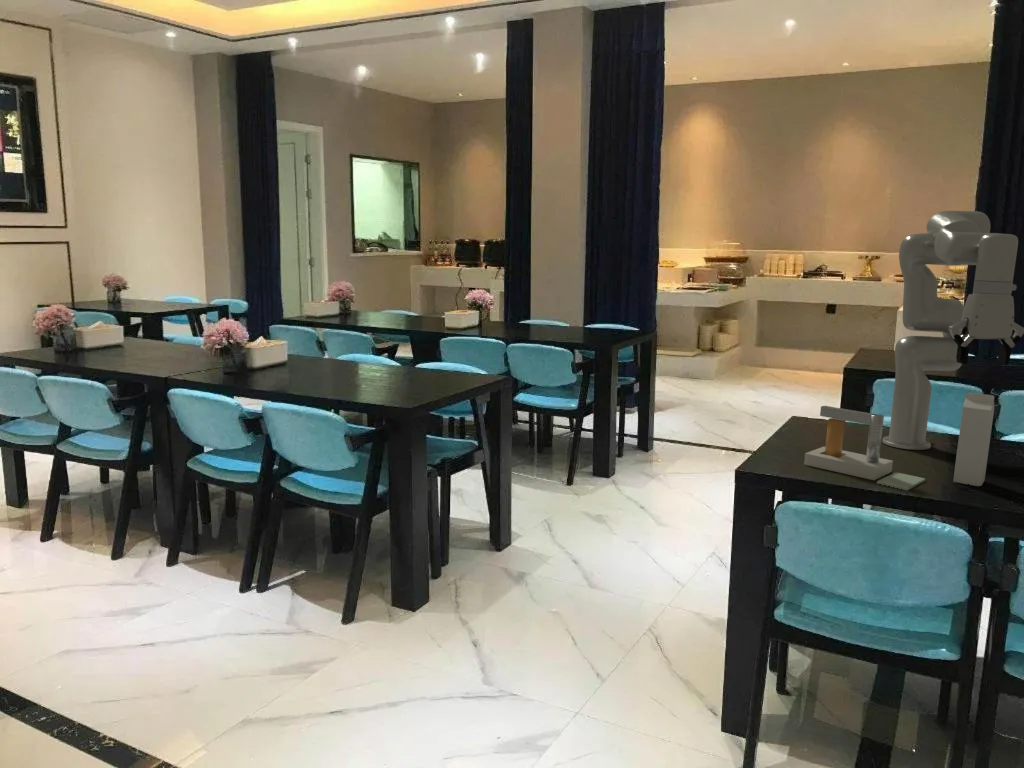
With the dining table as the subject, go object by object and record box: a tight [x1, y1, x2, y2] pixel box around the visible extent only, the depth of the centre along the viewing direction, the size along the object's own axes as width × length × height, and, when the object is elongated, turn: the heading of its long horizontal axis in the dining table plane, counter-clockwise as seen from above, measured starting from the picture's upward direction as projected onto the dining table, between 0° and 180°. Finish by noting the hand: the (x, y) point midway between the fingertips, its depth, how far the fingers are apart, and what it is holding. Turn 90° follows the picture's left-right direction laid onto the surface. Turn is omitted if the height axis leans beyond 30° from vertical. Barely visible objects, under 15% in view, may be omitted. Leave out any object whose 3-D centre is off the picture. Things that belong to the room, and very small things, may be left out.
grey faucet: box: [819, 405, 885, 462], centre depth 206 cm, size 3×16×12 cm, turn 45°
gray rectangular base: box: [803, 446, 894, 481], centre depth 207 cm, size 11×18×3 cm, turn 45°
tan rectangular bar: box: [824, 418, 846, 458], centre depth 209 cm, size 4×4×12 cm
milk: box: [952, 392, 995, 487], centre depth 196 cm, size 6×6×22 cm
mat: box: [876, 471, 926, 492], centre depth 196 cm, size 12×7×1 cm, turn 135°
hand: (982, 363), depth 186 cm, fingers open, 9 cm apart
